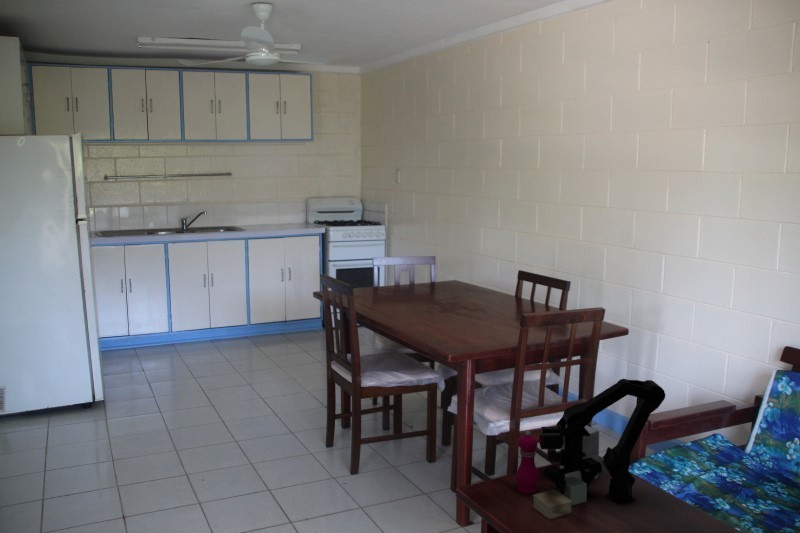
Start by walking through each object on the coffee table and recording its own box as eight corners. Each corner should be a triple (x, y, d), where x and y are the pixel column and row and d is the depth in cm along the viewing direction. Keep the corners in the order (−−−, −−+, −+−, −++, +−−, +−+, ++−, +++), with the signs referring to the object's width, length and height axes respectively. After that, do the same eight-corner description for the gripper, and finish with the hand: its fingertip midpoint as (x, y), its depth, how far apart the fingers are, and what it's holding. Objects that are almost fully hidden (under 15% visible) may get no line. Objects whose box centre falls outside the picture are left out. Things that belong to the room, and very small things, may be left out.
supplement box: (578, 467, 233) (579, 421, 231) (599, 477, 226) (600, 430, 223) (558, 474, 228) (559, 427, 226) (579, 485, 221) (580, 436, 218)
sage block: (574, 493, 215) (574, 475, 215) (586, 501, 210) (586, 483, 209) (558, 497, 213) (559, 479, 212) (570, 505, 208) (571, 487, 207)
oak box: (555, 501, 210) (555, 489, 210) (571, 513, 203) (572, 501, 202) (532, 507, 207) (532, 494, 206) (548, 519, 199) (549, 507, 199)
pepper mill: (543, 490, 217) (544, 431, 215) (527, 497, 213) (528, 437, 211) (527, 482, 223) (528, 425, 220) (511, 488, 219) (511, 430, 216)
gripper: (580, 434, 220) (579, 479, 222) (533, 443, 213) (532, 490, 215) (603, 446, 210) (602, 493, 212) (554, 457, 203) (553, 505, 205)
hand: (572, 495), depth 211 cm, fingers open, 8 cm apart
